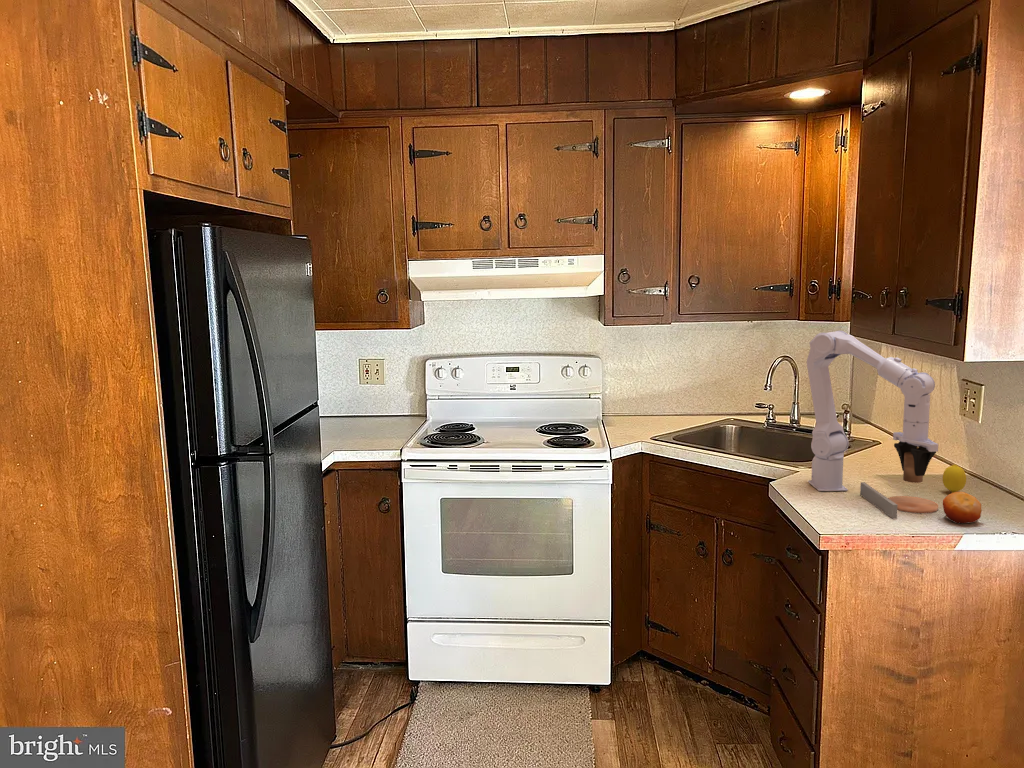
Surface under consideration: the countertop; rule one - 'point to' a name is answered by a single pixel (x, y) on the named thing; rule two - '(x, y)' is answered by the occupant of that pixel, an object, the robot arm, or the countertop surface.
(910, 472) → the walnut cylinder
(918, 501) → the saucer
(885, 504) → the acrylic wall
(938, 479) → the countertop surface
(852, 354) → the robot arm
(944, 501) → the fruit
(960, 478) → the lemon
